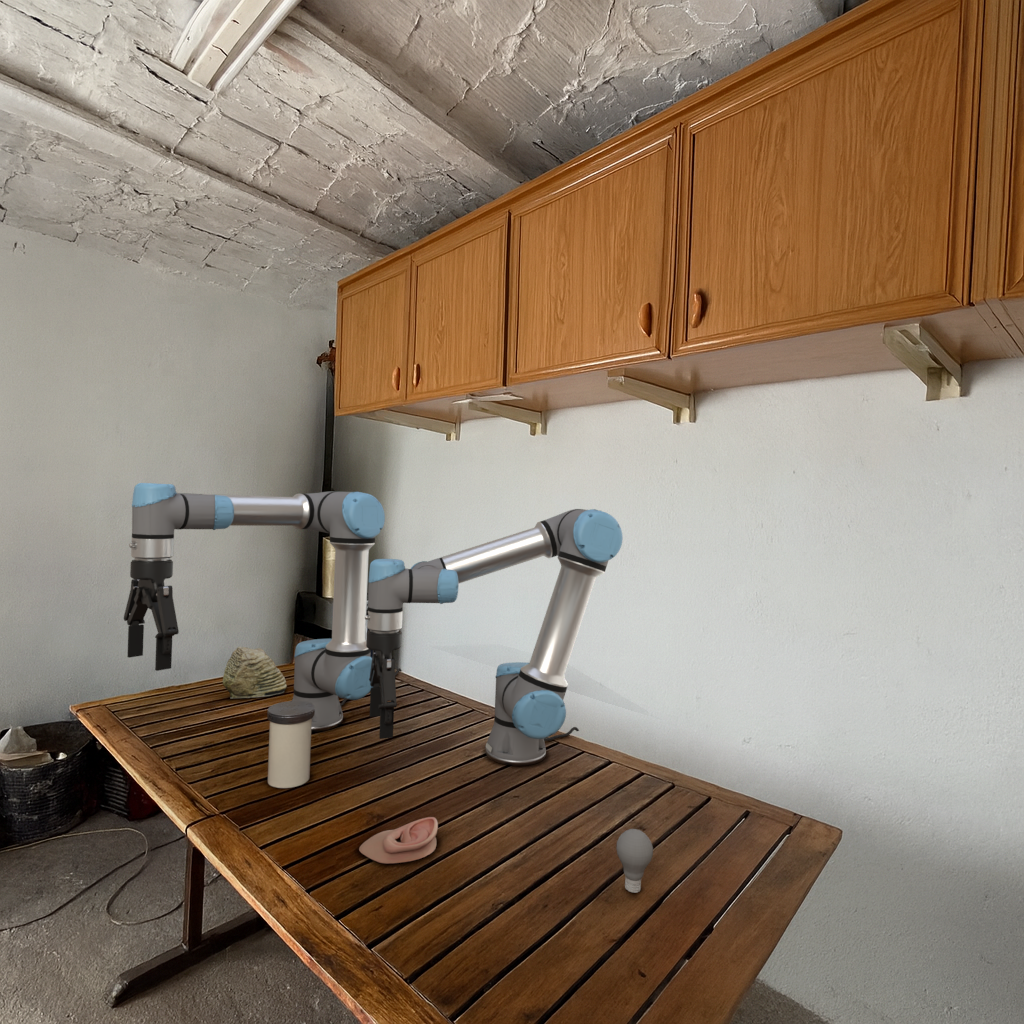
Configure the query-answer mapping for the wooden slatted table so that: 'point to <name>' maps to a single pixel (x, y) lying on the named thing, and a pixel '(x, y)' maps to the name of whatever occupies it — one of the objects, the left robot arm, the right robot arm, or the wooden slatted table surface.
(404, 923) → the wooden slatted table surface
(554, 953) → the wooden slatted table surface
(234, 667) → the fossil
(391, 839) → the anatomical model
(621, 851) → the light bulb
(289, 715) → the lid
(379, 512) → the left robot arm
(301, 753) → the jar
